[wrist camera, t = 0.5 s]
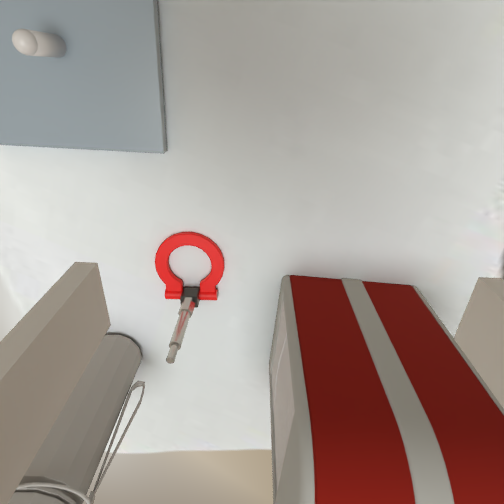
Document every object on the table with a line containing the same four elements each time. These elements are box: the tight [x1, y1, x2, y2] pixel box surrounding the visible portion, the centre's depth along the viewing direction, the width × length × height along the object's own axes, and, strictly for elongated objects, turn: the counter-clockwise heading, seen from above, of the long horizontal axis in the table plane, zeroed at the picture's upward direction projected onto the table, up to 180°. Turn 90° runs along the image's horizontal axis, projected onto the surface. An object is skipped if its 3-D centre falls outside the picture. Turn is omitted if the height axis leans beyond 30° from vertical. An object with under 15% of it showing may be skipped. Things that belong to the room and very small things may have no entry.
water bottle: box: [8, 335, 145, 504], centre depth 39 cm, size 9×8×25 cm
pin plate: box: [0, 0, 167, 154], centre depth 29 cm, size 18×18×7 cm
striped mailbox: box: [269, 275, 504, 504], centre depth 35 cm, size 16×18×27 cm
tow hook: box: [155, 232, 224, 364], centre depth 37 cm, size 8×13×9 cm
